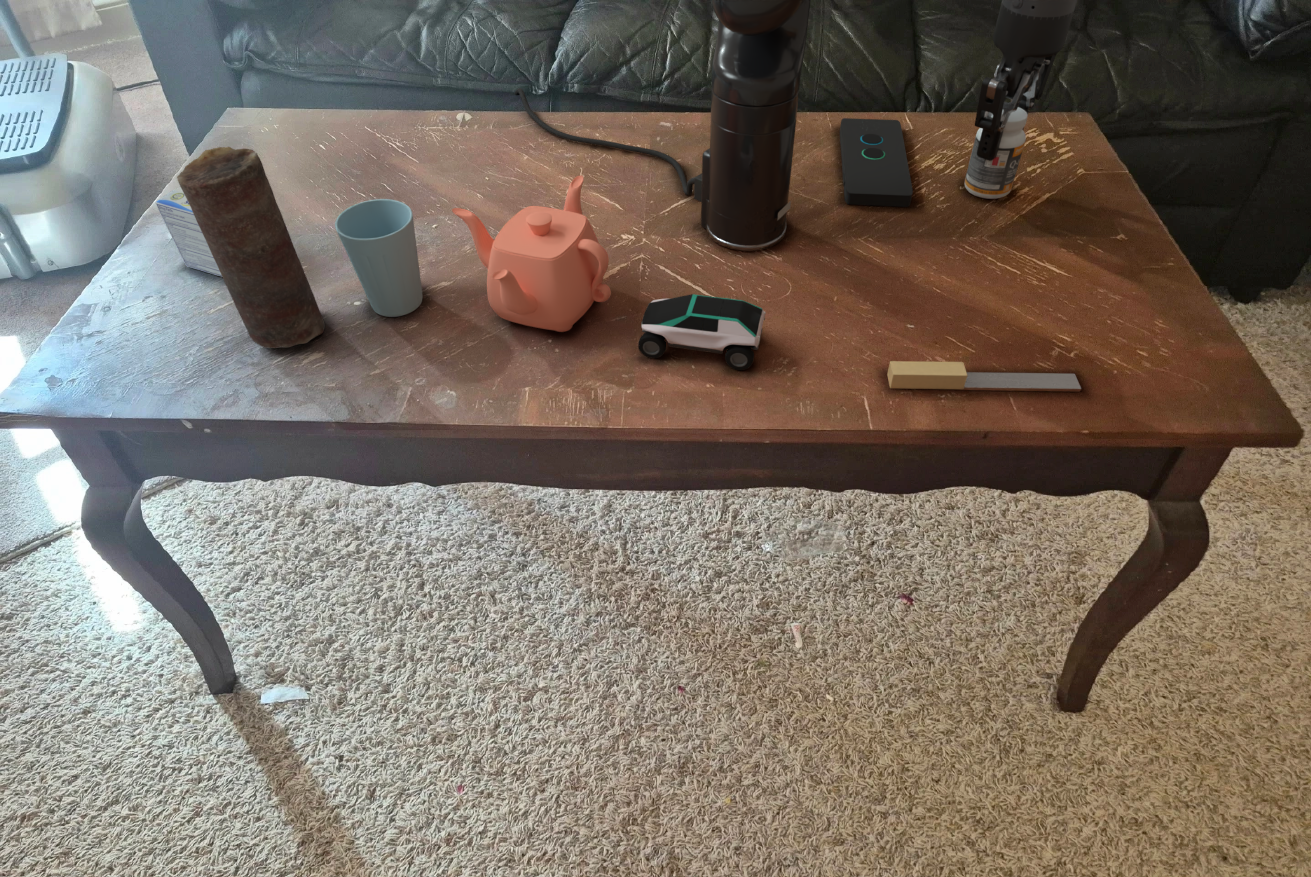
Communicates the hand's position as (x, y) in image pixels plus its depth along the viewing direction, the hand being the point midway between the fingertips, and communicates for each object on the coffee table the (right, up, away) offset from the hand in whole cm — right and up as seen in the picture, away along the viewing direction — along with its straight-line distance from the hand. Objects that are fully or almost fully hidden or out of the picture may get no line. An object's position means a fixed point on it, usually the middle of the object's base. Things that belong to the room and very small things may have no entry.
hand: (998, 147), depth 106 cm
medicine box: (-91, -15, -4) cm, 93 cm away
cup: (-70, -20, -10) cm, 73 cm away
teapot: (-54, -21, -11) cm, 59 cm away
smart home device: (-13, 0, +9) cm, 16 cm away
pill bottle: (0, -4, +4) cm, 6 cm away
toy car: (-37, -26, -16) cm, 48 cm away
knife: (-10, -30, -21) cm, 38 cm away
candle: (-80, -24, -14) cm, 85 cm away
